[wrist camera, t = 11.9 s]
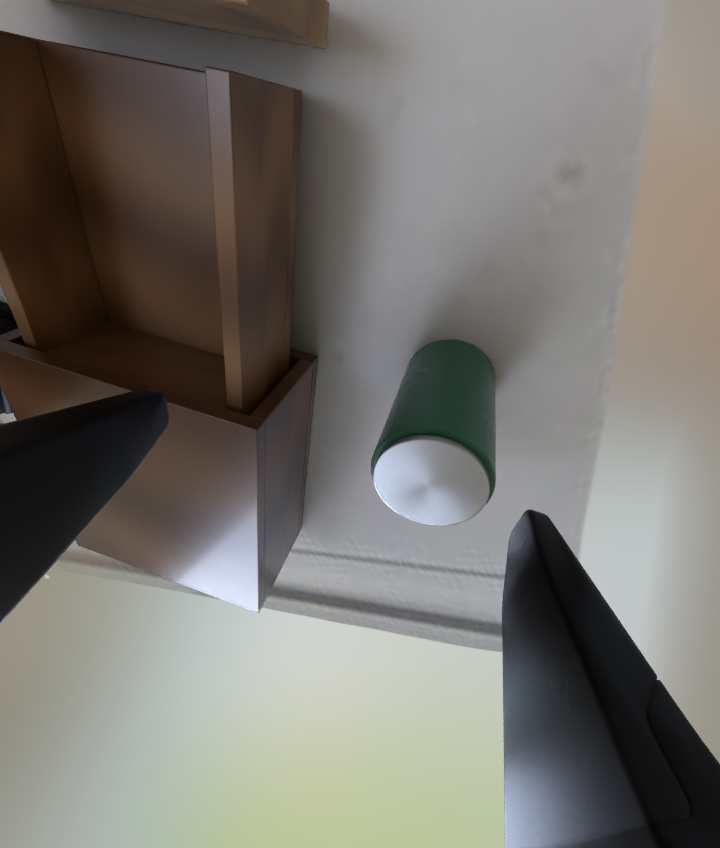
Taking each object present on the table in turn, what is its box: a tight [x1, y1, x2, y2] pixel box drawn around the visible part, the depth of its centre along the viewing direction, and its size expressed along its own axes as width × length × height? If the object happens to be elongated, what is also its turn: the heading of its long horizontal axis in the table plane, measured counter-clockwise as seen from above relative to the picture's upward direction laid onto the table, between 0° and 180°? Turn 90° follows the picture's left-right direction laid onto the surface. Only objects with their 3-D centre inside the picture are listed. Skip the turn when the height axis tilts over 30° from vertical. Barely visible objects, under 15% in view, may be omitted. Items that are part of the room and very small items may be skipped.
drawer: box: [0, 0, 329, 416], centre depth 16 cm, size 19×13×6 cm
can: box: [371, 340, 496, 526], centre depth 18 cm, size 5×5×8 cm
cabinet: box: [0, 328, 318, 613], centre depth 26 cm, size 17×15×8 cm
